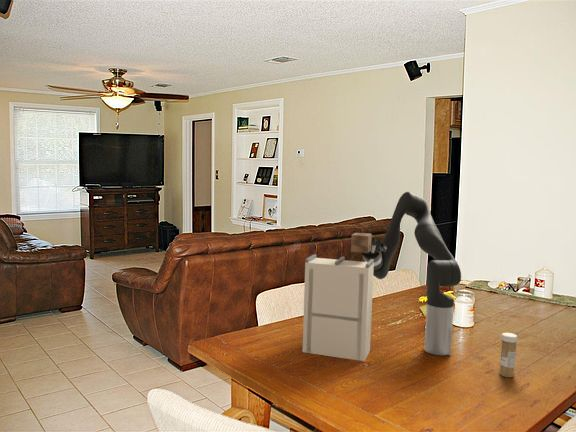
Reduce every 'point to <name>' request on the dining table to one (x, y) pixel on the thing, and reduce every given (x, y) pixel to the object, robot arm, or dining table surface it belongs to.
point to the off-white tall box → (337, 307)
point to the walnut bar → (361, 242)
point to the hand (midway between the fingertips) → (366, 238)
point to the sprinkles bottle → (508, 354)
